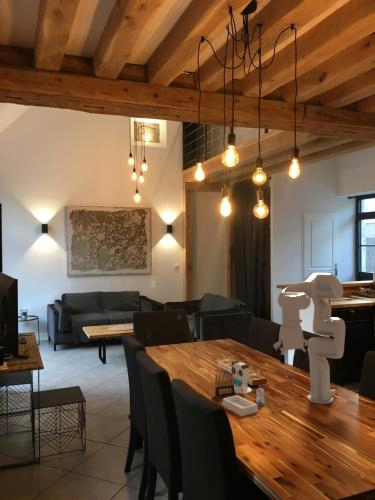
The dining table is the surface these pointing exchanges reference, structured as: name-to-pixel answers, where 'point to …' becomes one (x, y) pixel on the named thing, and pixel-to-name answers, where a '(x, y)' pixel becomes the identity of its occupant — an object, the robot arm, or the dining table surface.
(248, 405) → the trough
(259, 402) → the cylinder
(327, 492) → the dining table surface
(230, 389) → the ammunition clip
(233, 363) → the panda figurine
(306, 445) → the dining table surface
